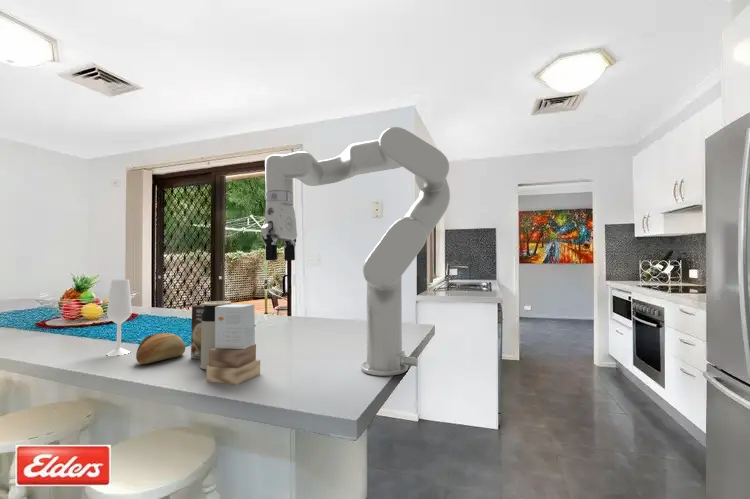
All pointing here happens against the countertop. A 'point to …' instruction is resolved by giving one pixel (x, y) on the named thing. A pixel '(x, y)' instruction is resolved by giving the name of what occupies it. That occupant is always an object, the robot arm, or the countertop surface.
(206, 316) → the travel mug
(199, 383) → the countertop surface
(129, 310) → the champagne flute
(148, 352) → the bread roll
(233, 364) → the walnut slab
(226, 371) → the oak slab
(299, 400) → the countertop surface
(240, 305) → the small box
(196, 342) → the coffee box
